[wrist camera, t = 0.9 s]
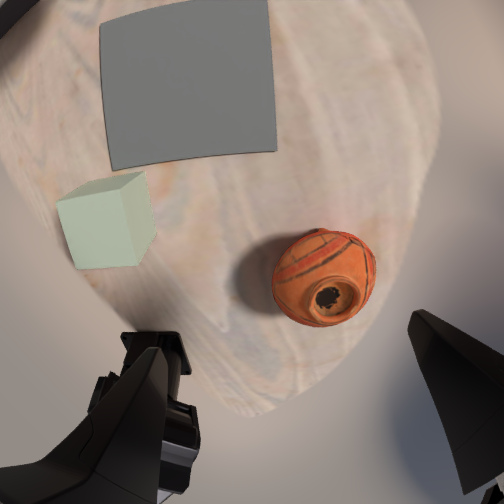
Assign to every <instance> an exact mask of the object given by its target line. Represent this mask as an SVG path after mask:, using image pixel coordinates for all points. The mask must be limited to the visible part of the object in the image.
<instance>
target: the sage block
mask: <svg viewBox="0 0 504 504" xmlns="http://www.w3.org/2000/svg"><path fill="white" fill-rule="evenodd" d="M55 203H56V207H57V210H58V214H59V218H60V221H61V225H62V228H63V231H64V234H65V238H66V241H67V244H68V247H69V250H70V253H71V256H72V258H73V261H74V264H75V267H76V269H77V270H81V269H95V268H109V267H123V266H137V265H139V263H140V261H141V260H142V258H143V256H144V254H145V252H146V251H147V249H148V247H149V246H150V244H151V242H152V240H153V239H154V237H155V235H156V234H157V232H156V227H155V222H154V217H153V212H152V207H151V202H150V196H149V191H148V185H147V179H146V173H145V171H141V172H135V173H129V174H124V175H118V176H113V177H108V178H103V179H98V180H93V181H89V182H87V183H85V184H84V185H82V186H80V187H79V188H77V189H75V190H74V191H72V192H70V193H69V194H67V195H66V196H64V197H62V198H61V199H59V200H58V201H56V202H55Z"/></svg>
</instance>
